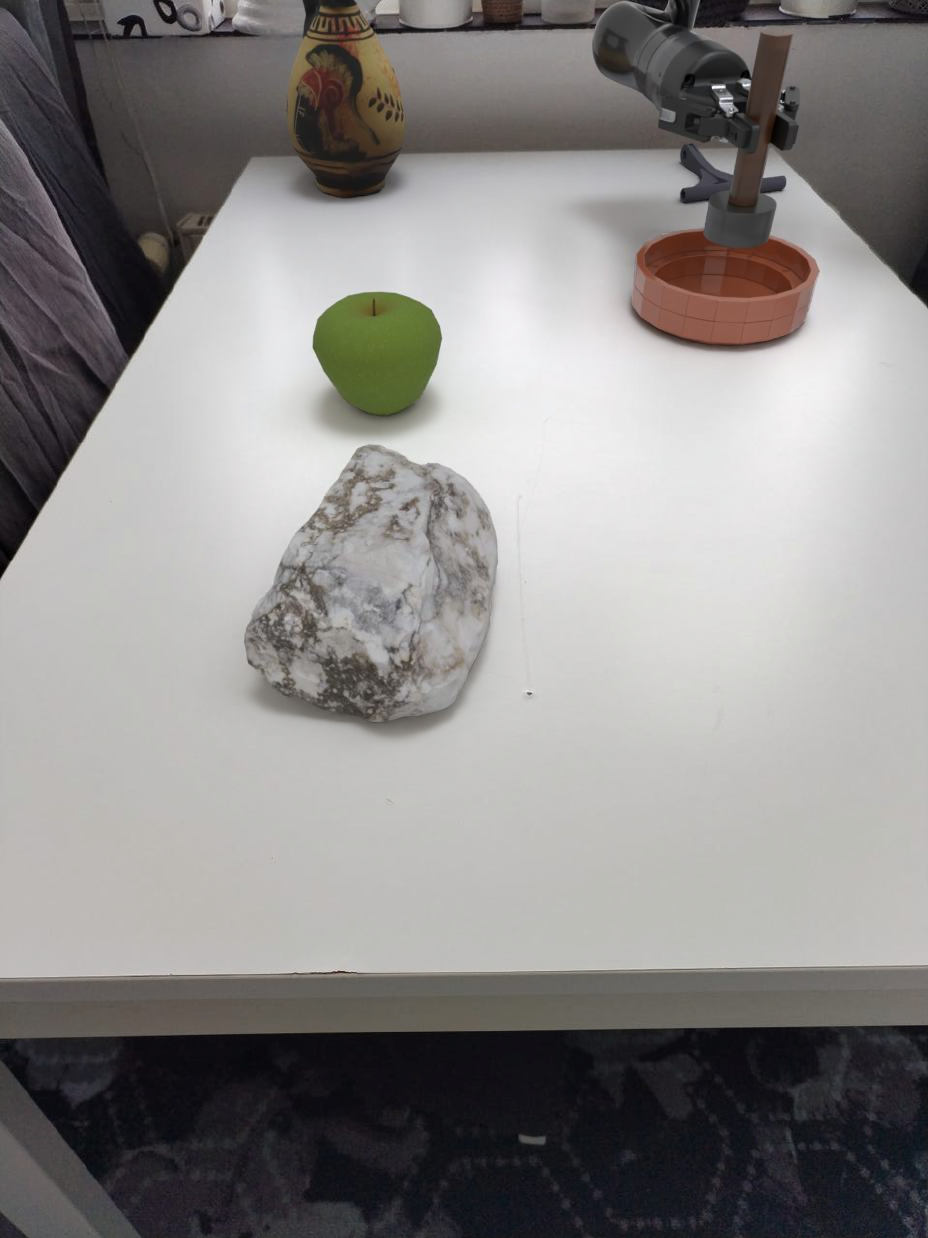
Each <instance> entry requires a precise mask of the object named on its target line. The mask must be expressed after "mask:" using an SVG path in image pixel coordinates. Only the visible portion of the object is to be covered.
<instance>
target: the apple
mask: <svg viewBox="0 0 928 1238" xmlns="http://www.w3.org/2000/svg"><path fill="white" fill-rule="evenodd" d="M442 334H443V333H442V329H441V325H440V323H439V321H438V319H437V317H436V315H435V314H434V312H433V310H432V309H431V308H430V307H429V306H427V305H425V304H424V303H422V302H421V301H419V300H417V299H414V298H412V297H410V296H407V295H404V294H400V293H398V292H389V291H364V292H359V293H354V294H350V295H349V294H348V295H347V296H345V297H343V298H341V299H339V300H337V301H336V302H334V303H333V304H332V305H330V306H329V307H327V308H326V309H325V310H324V312H322V313H321V315H319V317H318V318H317V319H316V324H315V327H314V330H313V334H312V350H313V352H314V354H315V357H316V358H317V360H318V363H319V365H320V366H321V369H322V371H323V373H324V374H325V376H326V377H327V378H328V380H329V381H330V383H331V384H332V385H333V387H334V388H335V390H336V391H337V392H338V393H339V395H340V396H341V398H343V399H344V401H345V402H347V403H348V404H349V405H351V406H353V407H356V408H357V409H359V410H361V411H364V412H365V413H366V414H367V413H368V414H369V415H373V416H374V415H375V416H378V417H379V416H380V417H381V416H382V417H383V416H386V417H387V416H392V415H395V414H398V413H399V412H401V411H402V410H404V409H406V408H407V407H409V406H410V405H412V404H413V403H415V402H417V401H418V400H420V399H421V397H422V396H423V393H424V392H425V391H426V388H427V386H428V384H429V382H430V379H431V377H432V375H433V373H434V371H435V369H436V367H437V364H438V360H439V355H440V352H441V346H442V342H443V341H442V340H443V335H442Z"/></svg>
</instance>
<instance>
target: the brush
mask: <svg viewBox="0 0 928 1238" xmlns="http://www.w3.org/2000/svg"><path fill="white" fill-rule="evenodd" d="M794 35H795V32H794V31H793V30H790V29H786V28H785V29H784V28H775V27H773V28H765V29H762V30H760V33H759V37H758V42H757V48H756V52H755V53H756V54H755V59H754V64H753V69H752V75H751V78H752V79H751V84H750V89H749V95H748V100H747V105H746V110H745V115H746V116H748V117H749V118H751V119H752V120H754V121H755V122H757V123H758V124H759V125H760V135H759V140H758V145H757V149H756V152H755V153H749V154H745V153H744V152H743V151H742V150H740V149H739V148H738V147H737V153H736V158H735V163H734V168H733V172H732V175H733V178H732V183H731V188H730V190H728V191H722V192H718V193H716V194H714V195H712V196H711V197H710V199H708V205H707V210H706V214H705V221H704V226H703V228H704V231H703V234H704V236H705V238H706V239H708V240H709V241H711V242H713V243H715V244H718V245H722V246H726V247H733V248H750V247H756V246H760V245H763V244H764V243H766V242H767V241H768V240H769V237H770V236H771V232H772V228H773V223H774V218H775V215H776V210H777V206H778V203H777V201H776V199H774V198H773V197H772V196H770V195H767V194H765V193H763V192H760V189H761V184H762V180H763V178H764V175H765V170H766V166H767V161H768V156H769V152H770V147H771V138H772V133H773V129H774V124H775V119H776V115H777V110H778V105H779V101H780V96H781V91H782V90H783V88H784V87H783V86H784V81H785V77H786V72H787V68H788V62H789V58H790V53H791V50H792V45H793V39H794Z"/></svg>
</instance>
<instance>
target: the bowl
mask: <svg viewBox="0 0 928 1238" xmlns="http://www.w3.org/2000/svg"><path fill="white" fill-rule="evenodd" d="M703 231H704V227H701V228H700V227H699V228H698V227H697V228H687V229H679V230H675V231H671V232H667V233H663V234H660V235H658V236H656V237H653V238H652V239H650V240H648V241H647V242H645V243H643V245H642V246H641V247H640V249H639V250H638V251H637V252H636V255H635V261H634V269H633V279H632V286H631V306H632V307H633V309H634V310H635V311H636V313H637V315H638V316H639V317H640V318H642V319H643V320H644V321H646V322H647V323H649V324H651V325H652V326H653V327H655V328H657V329H659V330H661V331H663V332H665V333H668V334H669V335H671V336H672V335H673V336H675V337H677V338H679V339H684V340H687V341H690V342H696V343H701V344H706V345H716V346H720V345H721V346H741V345H751V344H757V343H761V342H767V341H770V340H771V341H772V340H774V339H777V338H780V337H783V336H786V335H789V334H791V333H792V332H794V331H796V330H797V329H798V328H800V327H801V326H802V325H804V323H805V321H806V319H807V316H808V314H809V312H810V308H811V305H812V300H813V298H814V297H813V296H814V295H815V294H814V293H815V290H816V285H817V282H818V279H819V275H820V268H819V266H818V263H817V260H816V259H815V258H814V257H813V256H812V255H811V254H810V253H808V251H806V250H805V249H804V248H802V247H800V246H798V245H796V244H794V243H793V242H790V241H787V240H785V239H783V238H780V237H777V236H773V235H770V237H769V240H768V241H767V242H766V243H764V244H763V245H760V246H756V247H750V248H733V247H726V246H722V245H718V244H715V243H713V242H711V241H709V240H708V239H706V238H705V236H704V234H703Z"/></svg>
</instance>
